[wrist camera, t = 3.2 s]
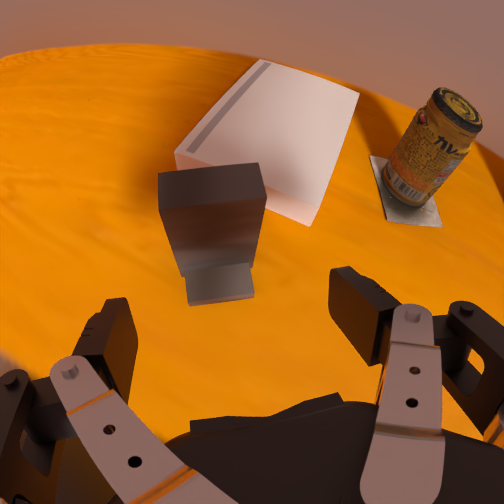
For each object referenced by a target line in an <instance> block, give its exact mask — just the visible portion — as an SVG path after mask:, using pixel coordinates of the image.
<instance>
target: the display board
mask: <svg viewBox="0 0 504 504" xmlns="http://www.w3.org/2000/svg"><path fill="white" fill-rule="evenodd" d="M359 95H360V93H358V92H355V91H353V90H351V89H348V88H346V87H343V86H341V85H338V84H336V83H333V82H330V81H328V80H325V79H322V78H320V77H317V76H314V75H311V74H308V73H305V72H302V71H299V70H296V69H293V68H290V67H286V66H283V65H280V64H276V63H273V62H269V61H266V60H262V59H259V60H258V61H257V62H256V63H255V64H254V65H253V66H252V67H251V68H250V69H249V70H248V71H247V72H246V73H245V74H244V75H243V76H242V77H241V78H240V79H239V80H238V81H237V82H236V83H235V84H234V85H233V86H232V87H231V88H230V89H229V90H228V91H227V92H226V93H225V94H224V95H223V96H222V97H221V99H220V100H219V101H218V102H217V103H216V104H215V105H214V106H213V107H212V108H211V109H210V110H209V111H208V113H207V114H206V115H205V116H204V117H203V118H202V119H201V120H200V122H199V123H198V124H197V125H196V126H195V127H194V128H193V130H192V131H191V132H190V133H189V134H188V135H187V137H186V138H185V139H184V140H183V141H182V142H181V144H180V145H179V146H178V147H177V148H176V150H175V151H174V155H175V161H176V167H177V171H179V170H186V169H195V168H203V167H212V166H222V165H232V164H244V163H256V162H258V163H259V167H260V171H261V174H262V178H263V182H264V186H265V190H266V194H267V201H266V206H265V208H266V209H269V210H271V211H274V212H276V213H278V214H281V215H283V216H285V217H288V218H290V219H292V220H295V221H297V222H299V223H302V224H304V225H306V226H309V227H310V226H311V224H312V222H313V219H314V217H315V215H316V213H317V211H318V209H319V207H320V204H321V202H322V199H323V196H324V194H325V191H326V188H327V186H328V183H329V180H330V178H331V175H332V172H333V169H334V167H335V164H336V161H337V158H338V156H339V153H340V150H341V147H342V144H343V142H344V139H345V136H346V133H347V130H348V127H349V124H350V121H351V118H352V116H353V113H354V110H355V107H356V104H357V101H358V98H359Z"/></svg>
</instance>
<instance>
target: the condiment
mask: <svg viewBox="0 0 504 504" xmlns="http://www.w3.org/2000/svg"><path fill="white" fill-rule="evenodd" d="M481 129H482V120H481V117H480V115H479V114H478V112H477V111H476V110H475V108H474V107H473V106H472V105H471V104H470V103H469V102H468V101H467V100H466V99H464V98H463V97H462V96H461V95H459V94H457V93H456V92H454V91H452V90H450V89H447V88H438V89H436V90H435V91H434V92H433V94H432V96H431V98H430V99H429V100H428V101H427V105H425V106H423V107H421V108H420V109H419V110H418V112H417V113H416V115H415V116H414V118H413V120H412V122H411V123H410V125H409V127H408V128H407V130H406V131H405V133H404V135H403V137H402V138H401V140H400V142H399V143H398V145H397V147H396V148H395V150H394V151H393V153H392V155H391V156H390V158H389V159H385V158H382V157H377V156H370V155H369V156H370V159H371V163H372V167H373V170H374V174H375V177H376V180H377V184H378V187H379V189H380V192H381V198H382V202H383V206H384V209H385V211H386V216H387V220H388V221H390V222H395V223H403V224H411V225H420V226H431V227H442V228H443V226H442V223H441V219H440V217H439V212H438V210H437V207H436V203H435V201H434V198H433V196H432V195H433V194H434V193H435V192H436V191H437V190H438V188H440V186H441V185H442V184H443V183H444V181H445V180H446V179H447V178H448V177H449V176H450V174H451V173H452V172H453V171H454V170H455V168H456V167H457V166H458V165H459V164H460V162H461V161H462V160H463V159H464V157H465V156H466V155H467V154H468V152H469V151H470V148H471V142H472V141H473V140H475V138H476V135H477V133H478V132H480V131H481ZM390 197H391V198H390ZM422 207H424V208H422ZM422 209H423V211H421V210H422Z"/></svg>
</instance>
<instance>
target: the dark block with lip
mask: <svg viewBox="0 0 504 504" xmlns="http://www.w3.org/2000/svg"><path fill="white" fill-rule="evenodd" d="M266 201H267V194H266V190H265V186H264V182H263V178H262V174H261V171H260V167H259V163H258V162H256V163H244V164H232V165H222V166H212V167H203V168H195V169H186V170H179V171H171V172H164V173H158V206H159V213H160V216H161V219H162V222H163V225H164V228H165V231H166V234H167V237H168V240H169V243H170V245H171V248H172V251H173V254H174V257H175V260H176V262H177V265H178V268H179V271H180V273H181V276H182V277H185V281H186V290H187V299H188V304H189V306H198V305H205V304H213V303H220V302H227V301H235V300H242V299H248V298H253V297H254V287H253V282H252V277H251V272H250V268H252V266H253V262H254V257H255V252H256V248H257V243H258V238H259V234H260V229H261V224H262V220H263V215H264V210H265V206H266Z"/></svg>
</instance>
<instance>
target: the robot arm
mask: <svg viewBox="0 0 504 504" xmlns="http://www.w3.org/2000/svg"><path fill="white" fill-rule="evenodd" d="M328 308H329V313H330V315H331V317H332V319H333V320H334V321H335V323H336V324H337V325H338V327H339V328H340V329H341V331H342V332H343V333H344V334H345V336H346V337H347V338H348V340H349V341H350V342H351V344H352V345H353V346H354V348H355V349H356V350H357V352H358V353H359V354H360V356H361V357H362V358H363V359H364V361H365V362H366V363H367V365H368V366H369V367H370V366H373V365H376V364H379V363H381V364H382V365H383V366H382V370H381V374H380V379H379V384H378V389H377V393H376V397H375V402H374V404H372V403H366V402H358V401H345V402H343V400H342V398H341V396H340V395H339V393H338V392H337V393H333V394H329V395H326V396H322V397H318V398H314V399H311V400H306V401H303V402H301V403H299V404H297V405H295V406H292V407H290V408H288V409H286V410H283V411H281V412H279V413H277V414H274V415H272V416H268V417H241V416H224V417H217V418H209V419H200V420H191V421H190V432H187V433H184V434H182V435H179V436H177V437H175V438H173V439H171V440H169V441H168V442H166V443H165V444H163V443H162V442H161V441H160V440H159V439H158V438H157V437H156V436H155V435H154V434H153V433H152V432H151V431H150V430H149V429H148V428H147V426H146V425H145V424H144V423H143V422H142V421H141V420H140V419H139V418H138V417H137V416H136V414H135V413H134V412H133V411H132V410H131V409H130V408H129V407H128V399H129V393H130V387H131V381H132V376H133V370H134V365H135V359H136V354H137V349H138V337H137V332H136V328H135V325H134V322H133V318H132V315H131V311H130V308H129V304H128V301H127V299H126V298H125V297H122V298H114V299H107V300H106V301H105V303H104V306H103V308H102V310H101V312H100V313H95V314H94V315H93V316H92V317H91V318H90V319H89V320H88V321H87V323H86V325H85V327H84V330H83V332H82V334H81V337H80V338H79V340H78V342H77V344H76V347H75V349H74V351H73V353H72V355H71V356H69V357H65V358H63V359H61V360H59V361H58V362H57V363H55V364H54V366H53V367H52V368H51V370H50V376H49V377H46V378H41V379H37V380H33V381H31V379H30V377H29V375H28V374H27V372H26V371H24V370H21V369H15V370H12V371H9V372H7V373H6V374H4V375H3V376H1V377H0V504H55V503H56V494H57V485H58V479H59V472H60V466H61V460H62V453H63V449H64V443H65V439H66V438H71V437H75V436H79V438H80V440H81V441H82V443H83V445H84V446H85V448H86V450H87V451H88V453H89V454H90V456H91V458H92V459H93V461H94V462H95V464H96V465H97V467H98V468H99V470H100V471H101V473H102V474H103V475H104V477H105V478H106V480H107V481H108V482H109V484H110V485H111V487H112V488H113V489H114V491H116V494H115V495H114V496H113V497H112V498H111V500H110V501H108V502H107V504H504V326H502V325H501V324H500V323H499V322H497V321H496V320H495V319H494V318H492V317H491V316H490V315H489V314H487V313H486V312H485V311H484V310H482V309H481V308H480V307H478V306H477V305H475V304H473V303H471V302H467V301H455V302H453V303H451V304H450V307H449V311H448V314H447V315H439V316H432V314H431V312H430V311H429V310H428V309H426V308H425V307H423V306H420V305H416V304H403V305H402V304H401V303H400V302H399V301H398V300H397V299H395V298H394V297H393V296H392V295H391V294H389V293H388V292H386V290H385V289H384V288H382V287H380V285H379V284H377V283H376V282H375V281H374V280H372V279H370V278H367V277H365V276H363V275H362V276H361V275H360V274H359V273H357V272H356V271H355V270H354V269H353V268H351V267H350V266H346V267H340V268H334V269H331V271H330V275H329V297H328ZM471 349H473V350H474V351H476V352H477V353H478V354H479V355H480V356H481V357H482V359H483V361H484V372H483V374H482V375H481V374H480V373H479V372H478V370H477V369H476V368H475V367H474V366H473V365H472V364H471V363H470V362H469V361H468V360H467V359H468V357H469V354H470V352H471ZM442 385H443V386H444V387H445V388H446V390H447V391H448V392H449V393H450V395H451V396H452V397H453V398H454V400H455V401H456V402H457V403H458V405H459V406H460V407H461V408H462V410H463V411H464V412H465V414H466V415H467V416H468V417H469V419H470V420H471V421H472V423H473V424H474V425H475V426H476V428H477V429H478V430H479V432H480V433H481V434H482V436H483V440H484V441H480V440H477V439H473V438H470V437H467V436H463V435H460V434H457V433H454V432H451V431H448V430H445V429H442V428H441V422H442ZM23 430H24V431H25V432H26V433H27V436H26V439H25V442H24V446H23V449H22V452H21V450H20V437H21V434H22V431H23Z"/></svg>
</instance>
